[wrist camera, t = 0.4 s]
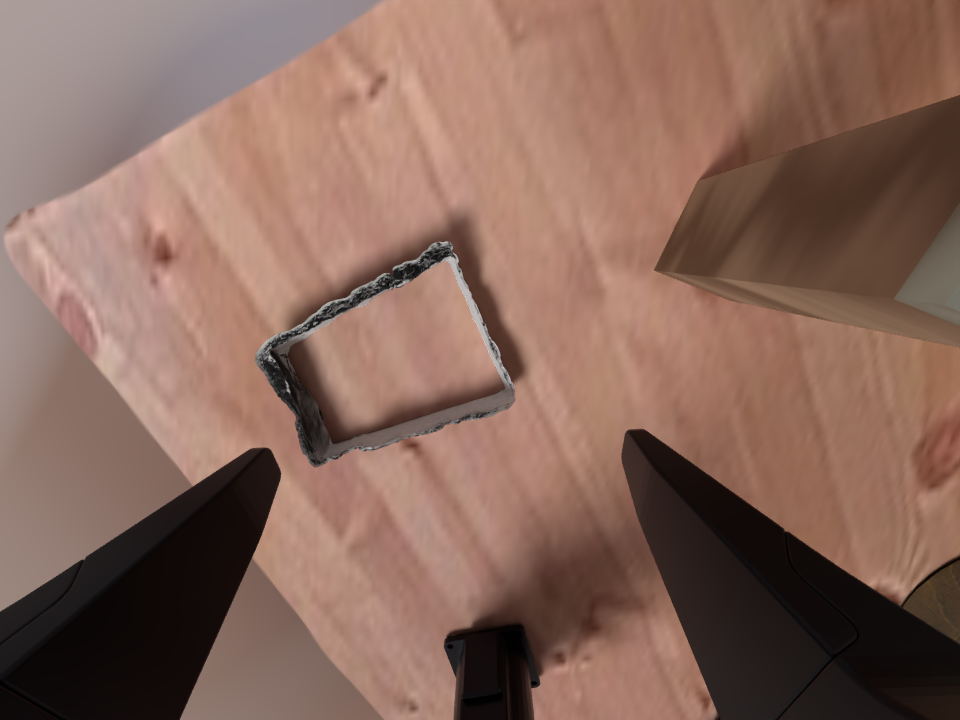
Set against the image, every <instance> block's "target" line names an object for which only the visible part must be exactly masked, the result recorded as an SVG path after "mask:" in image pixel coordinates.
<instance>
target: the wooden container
mask: <svg viewBox="0 0 960 720" xmlns="http://www.w3.org/2000/svg"><path fill="white" fill-rule="evenodd" d="M902 608H904V609H906V610H907V611H909V612H910V613H912V614H914V615H915V616H917V617H918V618H920V619H922V620H923V621H925V622H926V623H928V624H930V625H931V626H933V627H934V628H936V629H938V630H939V631H941V632H942V633H944V634H945V635H947V636H949V637H950V638H952V639H953V640H955V641H957V642H958V643H960V560H958V561H956V562H954V563H952V564H950V565H948V566H947V567H945V568H944V569H942V570H940V571H939V572H937V573H936V574H935V575H933V576H932V577H930V578H929V579H928V580H927V581H926V582H924V583H923V584H922V585H921V586H920V587H919V588H918V589H917V590H916V591H915V592H914V593H913V594H912V595H911V596H910V598H909V599H908V600H907V601H906V602H905V604H904V605H903V607H902Z"/></svg>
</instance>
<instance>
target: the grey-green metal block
mask: <svg viewBox="0 0 960 720" xmlns="http://www.w3.org/2000/svg"><path fill="white" fill-rule="evenodd" d="M654 271H657V272H659V273H662V274H664V275H667V276H669V277H672V278H674V279H677V280H680V281H682V282H685V283H687V284H690V285H692V286H695V287H697V288H700V289H702V290H705V291H707V292H710V293H712V294H715V295H718V296H720V297H723V298H725V299H728V300H730V301H735V302H739V303H744V304H749V305H754V306H759V307H764V308H769V309H774V310H778V311H783V312H788V313H793V314H798V315H803V316H808V317H813V318H817V319H822V320H827V321H832V322H837V323H842V324H847V325H851V326H856V327H861V328H866V329H871V330H876V331H881V332H886V333H890V334H895V335H900V336H905V337H910V338H915V339H920V340H924V341H929V342H934V343H939V344H944V345H949V346H954V347H959V348H960V95H959V96H956V97H953V98H950V99H947V100H943V101H940V102H937V103H934V104H931V105H928V106H925V107H922V108H919V109H916V110H913V111H910V112H907V113H904V114H901V115H898V116H895V117H891V118H888V119H885V120H882V121H879V122H876V123H873V124H870V125H867V126H864V127H861V128H858V129H855V130H852V131H849V132H846V133H843V134H839V135H836V136H833V137H830V138H827V139H824V140H821V141H818V142H815V143H812V144H809V145H806V146H803V147H800V148H797V149H794V150H791V151H787V152H784V153H781V154H778V155H775V156H772V157H769V158H766V159H763V160H760V161H757V162H754V163H751V164H748V165H745V166H742V167H739V168H735V169H732V170H729V171H726V172H723V173H720V174H717V175H714V176H711V177H708V178H705V179H702V180H699V181H698V182H697V184H696V186H695V188H694V190H693V192H692V194H691V196H690V198H689V200H688V202H687V204H686V206H685V208H684V210H683V212H682V214H681V216H680V218H679V220H678V222H677V225H676V227H675V229H674V231H673V233H672V235H671V237H670V239H669V241H668V243H667V245H666V247H665V249H664V251H663V253H662V255H661V257H660V259H659V261H658V263H657V265H656V267H655V269H654Z"/></svg>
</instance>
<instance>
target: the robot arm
mask: <svg viewBox="0 0 960 720" xmlns="http://www.w3.org/2000/svg"><path fill="white" fill-rule="evenodd" d="M621 457H622V464H623V468H624V471H625V475H626V478H627V482H628V485H629V489H630V492H631V496H632V499H633V502H634V506H635V509H636V513H637V516H638V519H639V522H640V525H641V527H642V530H643V533H644V535H645V537H646V540H647V542H648V545H649V547H650V550H651V552H652V554H653V557H654V559H655V562H656V564H657V567H658V569H659V572H660V574H661V576H662V579H663V581H664V584H665V586H666V589H667V591H668V593H669V596H670V598H671V601H672V603H673V606H674V608H675V610H676V613H677V615H678V618H679V620H680V623H681V625H682V627H683V630H684V632H685V635H686V637H687V640H688V642H689V644H690V647H691V649H692V652H693V654H694V657H695V659H696V661H697V664H698V666H699V669H700V671H701V674H702V676H703V678H704V681H705V683H706V686H707V688H708V691H709V693H710V696H711V698H712V700H713V703H714V705H715V708H716V710H717V713H718V715H719V717H720V720H960V643H958V642H957V641H955V640H953V639H952V638H950V637H949V636H947V635H945V634H944V633H942V632H941V631H939V630H938V629H936V628H934V627H933V626H931V625H930V624H928V623H926V622H925V621H923V620H922V619H920V618H918V617H917V616H915V615H914V614H912V613H910V612H909V611H907V610H906V609H904V608H902V607H901V606H899V605H898V604H896V603H895V602H893V601H891V600H890V599H888V598H887V597H885V596H883V595H882V594H880V593H879V592H877V591H875V590H874V589H872V588H871V587H869V586H868V585H866V584H865V583H863V582H862V581H860V580H858V579H857V578H855V577H854V576H852V575H851V574H849V573H848V572H846V571H845V570H843V569H841V568H840V567H838V566H837V565H835V564H834V563H833V562H831V561H830V560H828V559H827V558H825V557H824V556H822V555H821V554H819V553H818V552H817V551H815V550H814V549H812V548H811V547H809V546H808V545H806V544H805V543H804V542H802V541H801V540H799V539H798V538H797V537H795V536H794V535H792V534H791V533H790V532H788V531H786V532H785V530H784V528H782V527H781V526H780V525H778V524H777V523H775V522H774V521H773V520H771V519H770V518H768V517H767V516H765V515H764V514H763V513H761V512H760V511H758V510H757V509H756V508H754V507H753V506H751V505H750V504H749V503H747V502H746V501H744V500H743V499H742V498H740V497H739V496H737V495H736V494H735V493H733V492H732V491H730V490H729V489H728V488H726V487H725V486H723V485H722V484H721V483H719V482H718V481H716V480H715V479H714V478H712V477H711V476H709V475H708V474H706V473H705V472H704V471H702V470H701V469H699V468H698V467H697V466H695V465H694V464H692V463H691V462H690V461H688V460H687V459H685V458H684V457H683V456H681V455H680V454H678V453H677V452H676V451H674V450H673V449H671V448H670V447H669V446H667V445H666V444H664V443H663V442H662V441H660V440H659V439H657V438H656V437H655V436H653V435H652V434H650V433H649V432H647V431H646V430H644V429H631V430H627V431H626V433H625V437H624V443H623V449H622V456H621ZM280 479H281V471H280V468H279V466H278V464H277V462H276V459H275V457H274V455H273V453H272V451H271V450H270V449H269V448H252V449H250V450H248V451H246V452H245V453H243V454H242V455H240V456H239V457H237V458H236V459H234V460H233V461H231V462H230V463H228V464H227V465H225V466H224V467H222V468H220V469H219V470H217V471H216V472H214V473H213V474H211V475H210V476H208V477H207V478H205V479H204V480H202V481H201V482H199V483H198V484H196V485H195V486H193V487H192V488H190V489H189V490H187V491H186V492H184V493H182V494H181V495H179V496H178V497H176V498H175V499H173V500H172V501H170V502H169V503H167V504H166V505H164V506H163V507H161V508H160V509H158V510H157V511H155V512H154V513H152V514H151V515H149V516H147V517H146V518H144V519H143V520H142V521H140V522H138V523H137V524H135V525H134V526H132V527H131V528H129V529H128V530H126V531H125V532H123V533H122V534H120V535H119V536H117V537H115V538H114V539H113V540H111V541H110V542H108V543H106V544H105V545H103V546H102V547H100V548H99V549H97V550H96V551H94V552H93V553H91V554H90V555H88V556H87V557H86V558H85V560H80V561H79V562H77V563H76V564H74V565H73V566H71V567H70V568H68V569H67V570H65V571H64V572H62V573H61V574H59V575H58V576H56V577H54V578H53V579H52V580H50V581H48V582H47V583H45V584H44V585H42V586H40V587H39V588H37V589H36V590H34V591H33V592H31V593H30V594H28V595H26V596H25V597H23V598H22V599H20V600H18V601H17V602H15V603H14V604H12V605H10V606H9V607H7V608H5V609H4V610H2V611H1V612H0V720H180V718H181V715H182V713H183V711H184V709H185V707H186V704H187V702H188V700H189V697H190V695H191V693H192V690H193V689H194V686H195V684H196V682H197V680H198V677H199V675H200V673H201V671H202V668H203V666H204V664H205V662H206V660H207V657H208V655H209V653H210V650H211V648H212V646H213V644H214V642H215V639H216V637H217V635H218V633H219V630H220V628H221V626H222V624H223V621H224V619H225V617H226V615H227V613H228V610H229V608H230V606H231V604H232V601H233V599H234V597H235V595H236V592H237V590H238V587H239V586H240V583H241V581H242V579H243V577H244V574H245V572H246V570H247V568H248V565H249V563H250V561H251V559H252V557H253V554H254V552H255V550H256V548H257V545H258V543H259V540H260V538H261V536H262V533H263V530H264V527H265V524H266V521H267V518H268V515H269V512H270V509H271V506H272V503H273V500H274V497H275V494H276V491H277V488H278V485H279V482H280ZM444 648H445V651H446V653H447V656H448V659H449V661H450V664H451V666H452V669H453V671H454V674H455V676H456V690H455V705H454V720H534V711H533V701H532V691H531V688H535V687H538V686H539V685H540V678H539V674H538V671H537V667H536V664H535V661H534V658H533V654H532V651H531V648H530V645H529V641H528V638H527V635H526V631H525V628H524V626H522V625H519V624H518V625H511V626H506V627H501V628H495V629H490V630H484V631H479V632H473V633H468V634H463V635H457V636H452V637H448V638H446V639H445V641H444Z"/></svg>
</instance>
